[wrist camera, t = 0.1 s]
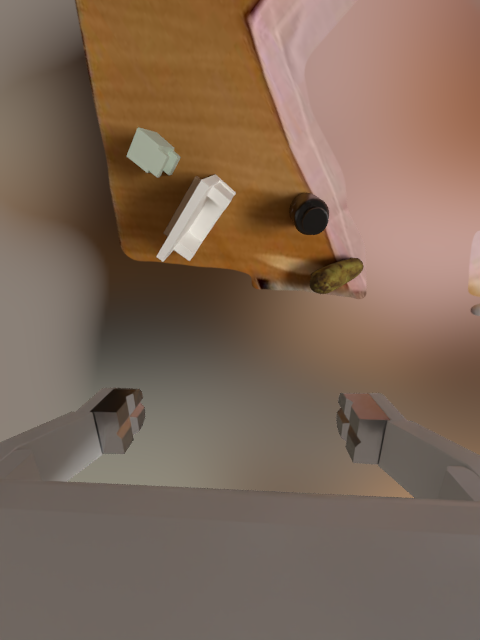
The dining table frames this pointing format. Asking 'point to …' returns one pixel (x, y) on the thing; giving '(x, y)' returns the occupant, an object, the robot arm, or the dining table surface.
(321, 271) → the potato
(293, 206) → the supplement bottle
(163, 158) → the pale green box
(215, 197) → the wall board
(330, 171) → the dining table surface
